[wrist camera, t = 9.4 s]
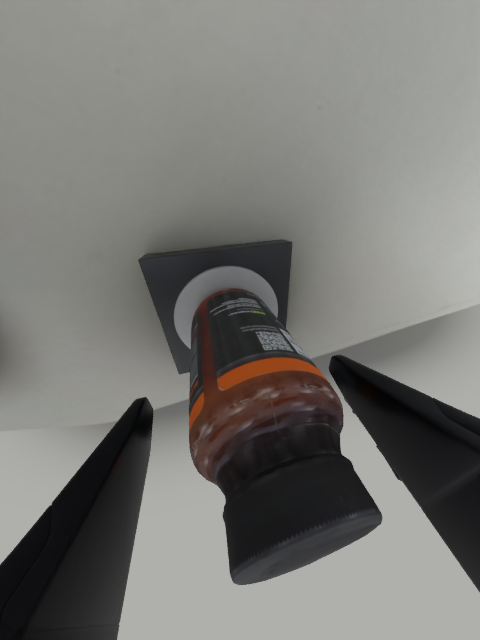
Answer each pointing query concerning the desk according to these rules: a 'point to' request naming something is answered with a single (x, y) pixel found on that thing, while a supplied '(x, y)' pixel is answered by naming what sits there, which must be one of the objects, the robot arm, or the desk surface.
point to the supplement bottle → (270, 441)
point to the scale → (213, 284)
